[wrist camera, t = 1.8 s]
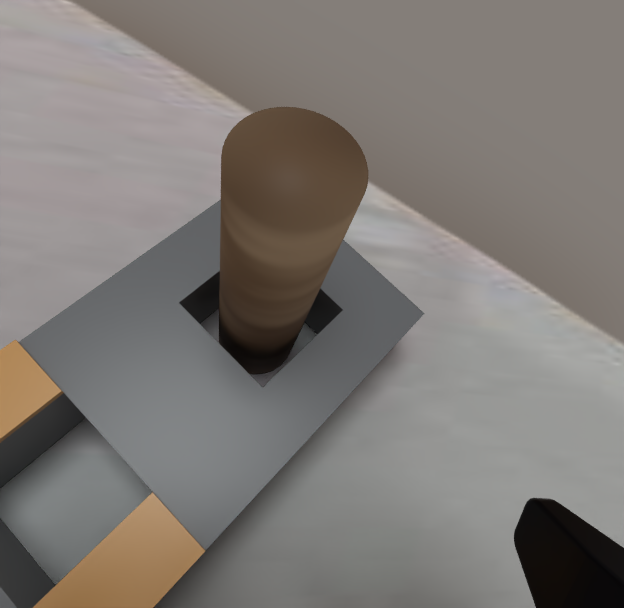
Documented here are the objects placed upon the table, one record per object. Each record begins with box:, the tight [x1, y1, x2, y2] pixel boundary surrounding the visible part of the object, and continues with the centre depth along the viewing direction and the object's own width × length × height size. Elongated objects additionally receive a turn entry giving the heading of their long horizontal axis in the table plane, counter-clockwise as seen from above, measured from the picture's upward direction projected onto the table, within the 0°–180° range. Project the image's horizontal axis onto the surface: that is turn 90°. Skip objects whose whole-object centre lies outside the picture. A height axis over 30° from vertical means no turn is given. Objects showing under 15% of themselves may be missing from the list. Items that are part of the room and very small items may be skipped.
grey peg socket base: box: [0, 200, 424, 608], centre depth 19 cm, size 20×10×4 cm, turn 137°
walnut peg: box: [219, 107, 368, 374], centre depth 17 cm, size 4×4×13 cm
